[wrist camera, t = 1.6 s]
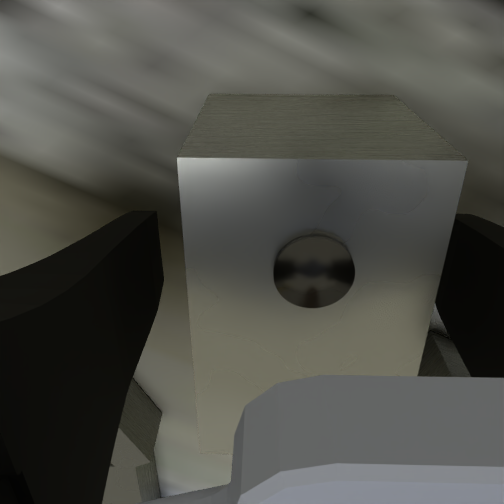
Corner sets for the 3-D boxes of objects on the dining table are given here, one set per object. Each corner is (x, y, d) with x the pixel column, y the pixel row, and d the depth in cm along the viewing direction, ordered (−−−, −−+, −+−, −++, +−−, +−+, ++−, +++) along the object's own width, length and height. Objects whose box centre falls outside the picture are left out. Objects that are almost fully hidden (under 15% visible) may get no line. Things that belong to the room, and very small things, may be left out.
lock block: (392, 94, 12) (473, 164, 7) (359, 321, 15) (400, 466, 11) (209, 92, 12) (174, 161, 7) (218, 319, 15) (199, 461, 11)
